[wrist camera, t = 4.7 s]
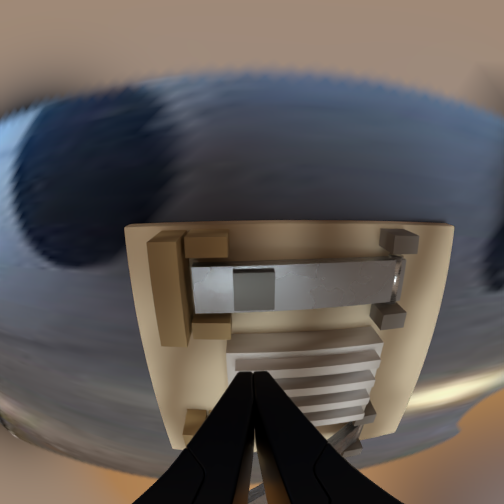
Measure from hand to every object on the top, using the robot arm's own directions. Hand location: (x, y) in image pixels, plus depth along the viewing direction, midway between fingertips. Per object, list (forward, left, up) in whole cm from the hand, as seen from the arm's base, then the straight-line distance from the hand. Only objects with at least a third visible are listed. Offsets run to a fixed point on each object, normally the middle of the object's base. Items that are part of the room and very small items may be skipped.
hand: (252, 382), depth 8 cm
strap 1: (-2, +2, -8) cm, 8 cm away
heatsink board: (+2, +7, -9) cm, 12 cm away
